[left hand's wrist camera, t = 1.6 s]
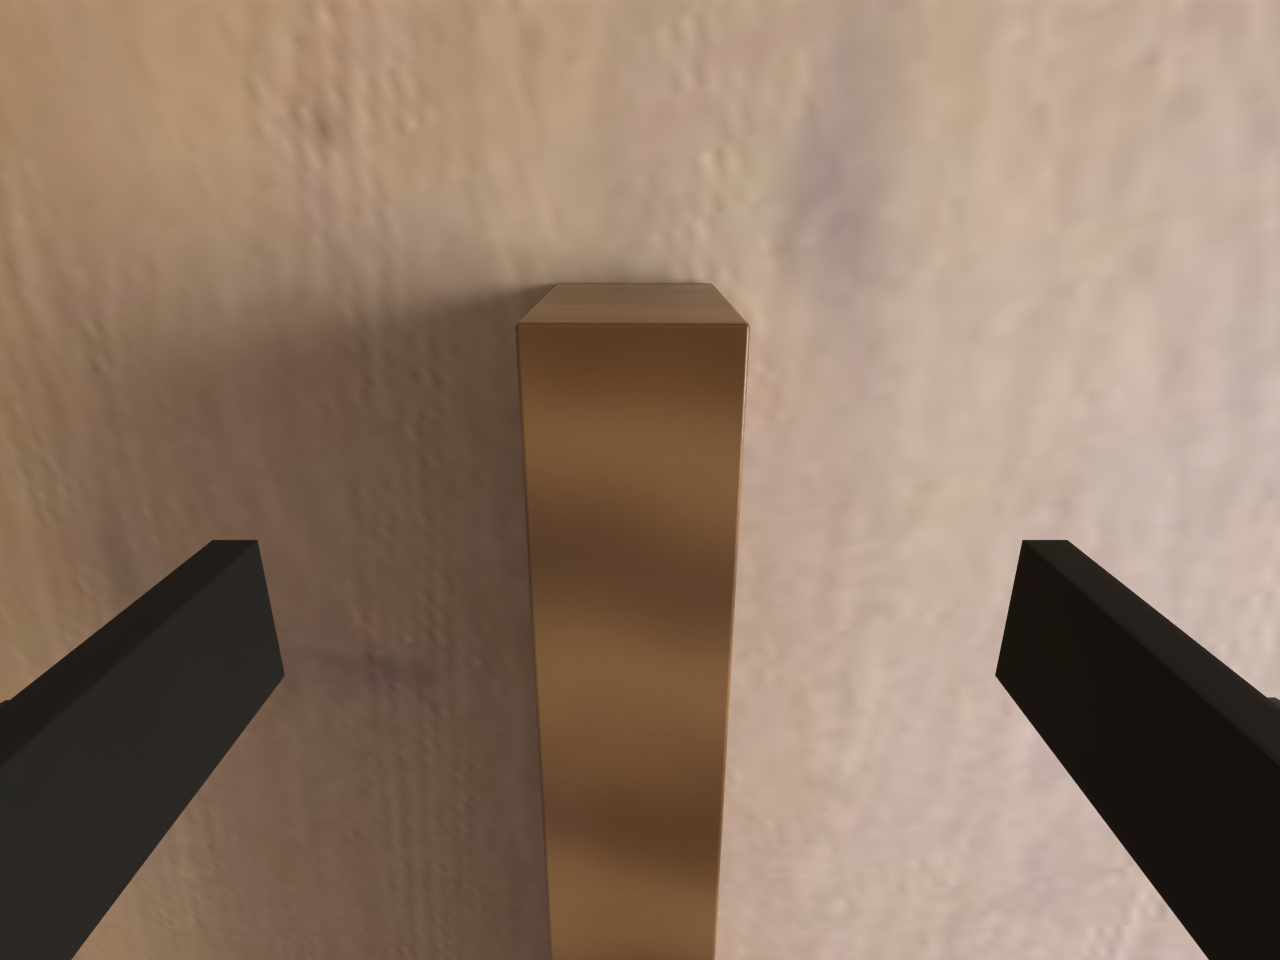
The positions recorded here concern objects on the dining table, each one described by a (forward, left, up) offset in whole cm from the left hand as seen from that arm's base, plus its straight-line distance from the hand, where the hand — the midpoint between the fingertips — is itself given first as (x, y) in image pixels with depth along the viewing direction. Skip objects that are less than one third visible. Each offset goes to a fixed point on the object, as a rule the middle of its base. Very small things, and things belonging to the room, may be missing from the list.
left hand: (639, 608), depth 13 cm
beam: (+21, +4, -13) cm, 25 cm away
